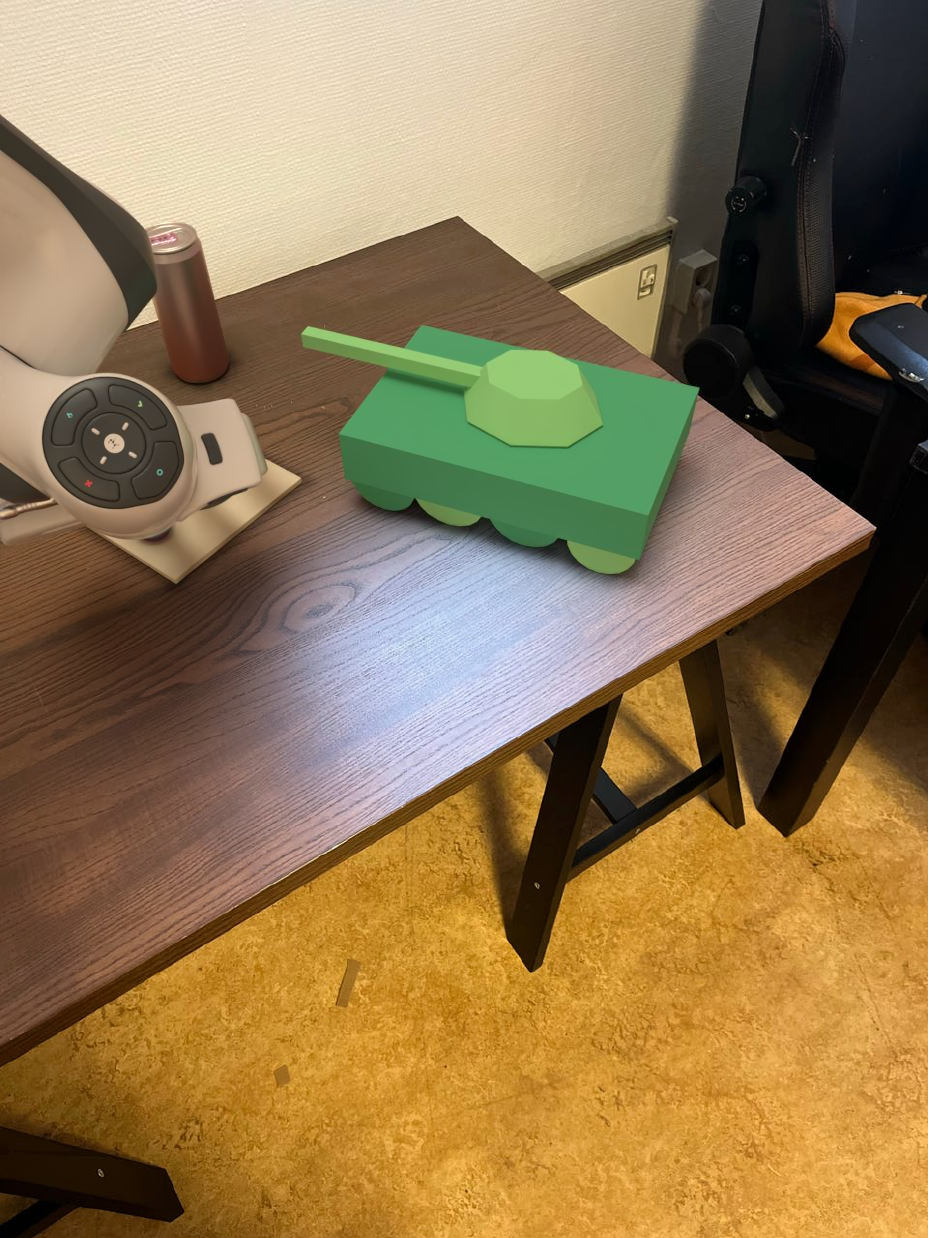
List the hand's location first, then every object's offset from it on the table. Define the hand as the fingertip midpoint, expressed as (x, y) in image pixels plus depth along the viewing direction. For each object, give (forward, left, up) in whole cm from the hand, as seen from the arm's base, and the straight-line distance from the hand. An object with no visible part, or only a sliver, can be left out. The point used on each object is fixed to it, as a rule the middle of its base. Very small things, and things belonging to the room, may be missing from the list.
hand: (136, 492), depth 78 cm
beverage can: (+21, +17, -8) cm, 28 cm away
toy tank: (+25, -17, -8) cm, 31 cm away
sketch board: (+6, +2, -7) cm, 10 cm away
